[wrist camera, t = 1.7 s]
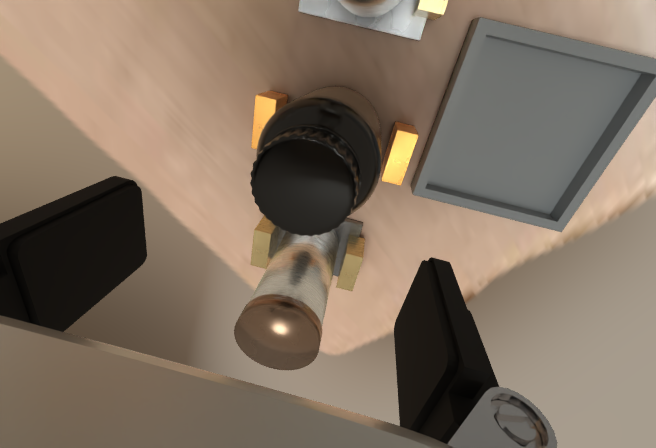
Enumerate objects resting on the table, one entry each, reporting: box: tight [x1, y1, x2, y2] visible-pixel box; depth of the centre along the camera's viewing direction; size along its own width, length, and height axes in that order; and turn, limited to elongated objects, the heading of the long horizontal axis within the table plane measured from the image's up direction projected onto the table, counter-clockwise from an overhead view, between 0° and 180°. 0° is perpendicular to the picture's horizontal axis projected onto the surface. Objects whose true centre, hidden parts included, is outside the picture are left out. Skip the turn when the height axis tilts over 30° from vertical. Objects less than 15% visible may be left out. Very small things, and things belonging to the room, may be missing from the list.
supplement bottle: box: [250, 86, 382, 236], centre depth 19 cm, size 7×7×12 cm
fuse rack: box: [234, 0, 448, 370], centre depth 19 cm, size 26×11×12 cm, turn 168°
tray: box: [411, 17, 656, 232], centre depth 21 cm, size 11×11×2 cm
